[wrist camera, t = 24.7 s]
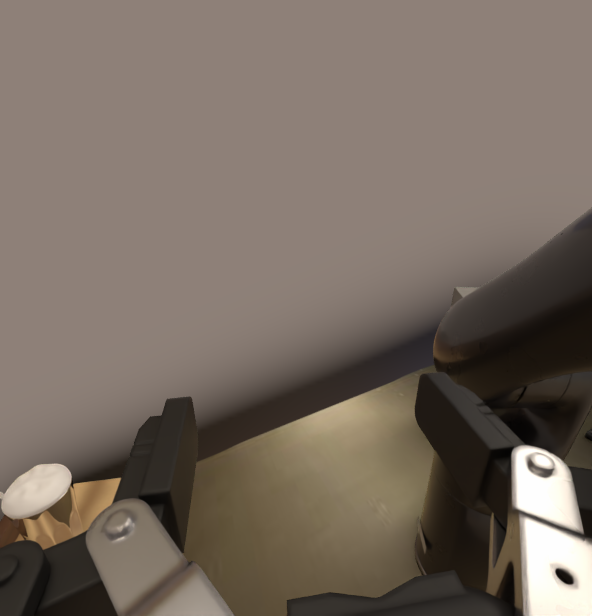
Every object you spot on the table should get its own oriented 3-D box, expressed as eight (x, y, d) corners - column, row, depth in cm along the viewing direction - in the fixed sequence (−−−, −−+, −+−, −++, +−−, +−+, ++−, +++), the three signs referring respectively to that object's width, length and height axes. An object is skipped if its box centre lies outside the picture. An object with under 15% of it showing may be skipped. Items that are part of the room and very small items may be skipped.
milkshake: (34, 539, 32) (-6, 459, 28) (99, 521, 33) (70, 442, 29) (15, 594, 28) (-35, 509, 24) (89, 571, 29) (54, 487, 25)
